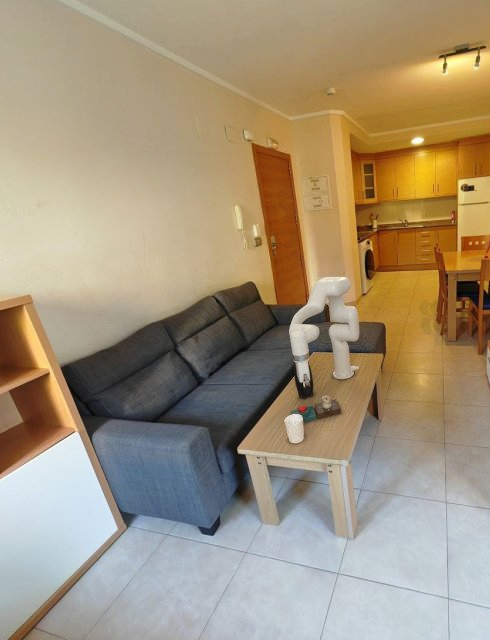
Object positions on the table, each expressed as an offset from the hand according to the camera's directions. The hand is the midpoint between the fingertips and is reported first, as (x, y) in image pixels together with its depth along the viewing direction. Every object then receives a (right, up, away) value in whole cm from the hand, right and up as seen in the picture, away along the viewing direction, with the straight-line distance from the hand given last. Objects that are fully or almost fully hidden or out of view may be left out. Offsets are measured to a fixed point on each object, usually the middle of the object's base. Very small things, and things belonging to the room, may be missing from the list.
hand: (306, 389), depth 160 cm
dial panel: (+10, -12, +7) cm, 17 cm away
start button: (-2, -11, +3) cm, 11 cm away
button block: (-2, -14, +4) cm, 15 cm away
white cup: (-3, -20, -11) cm, 23 cm away
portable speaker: (-3, -8, +24) cm, 25 cm away
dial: (+10, -9, +6) cm, 15 cm away
